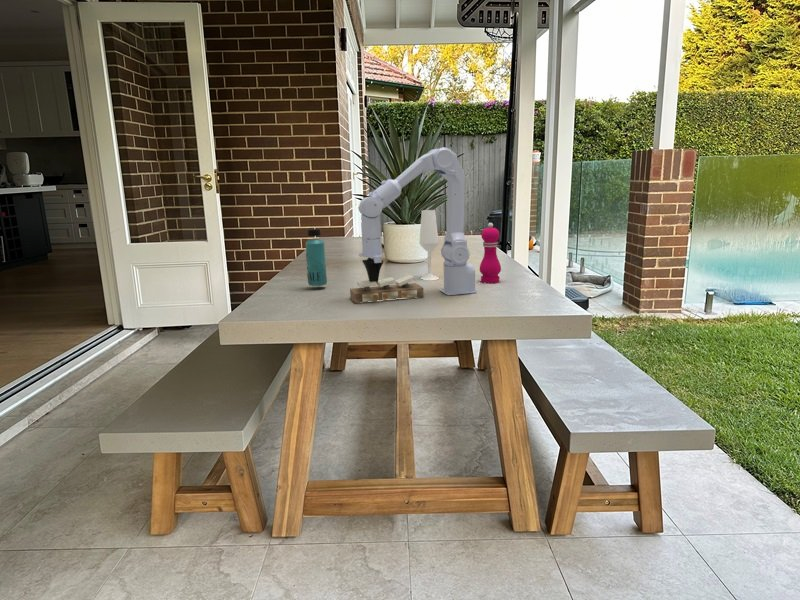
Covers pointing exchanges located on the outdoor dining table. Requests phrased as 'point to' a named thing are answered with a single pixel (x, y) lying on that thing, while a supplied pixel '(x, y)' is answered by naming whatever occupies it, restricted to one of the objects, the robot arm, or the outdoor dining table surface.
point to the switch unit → (386, 292)
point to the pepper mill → (490, 256)
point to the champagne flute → (428, 237)
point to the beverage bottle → (315, 260)
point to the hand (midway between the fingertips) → (373, 283)
